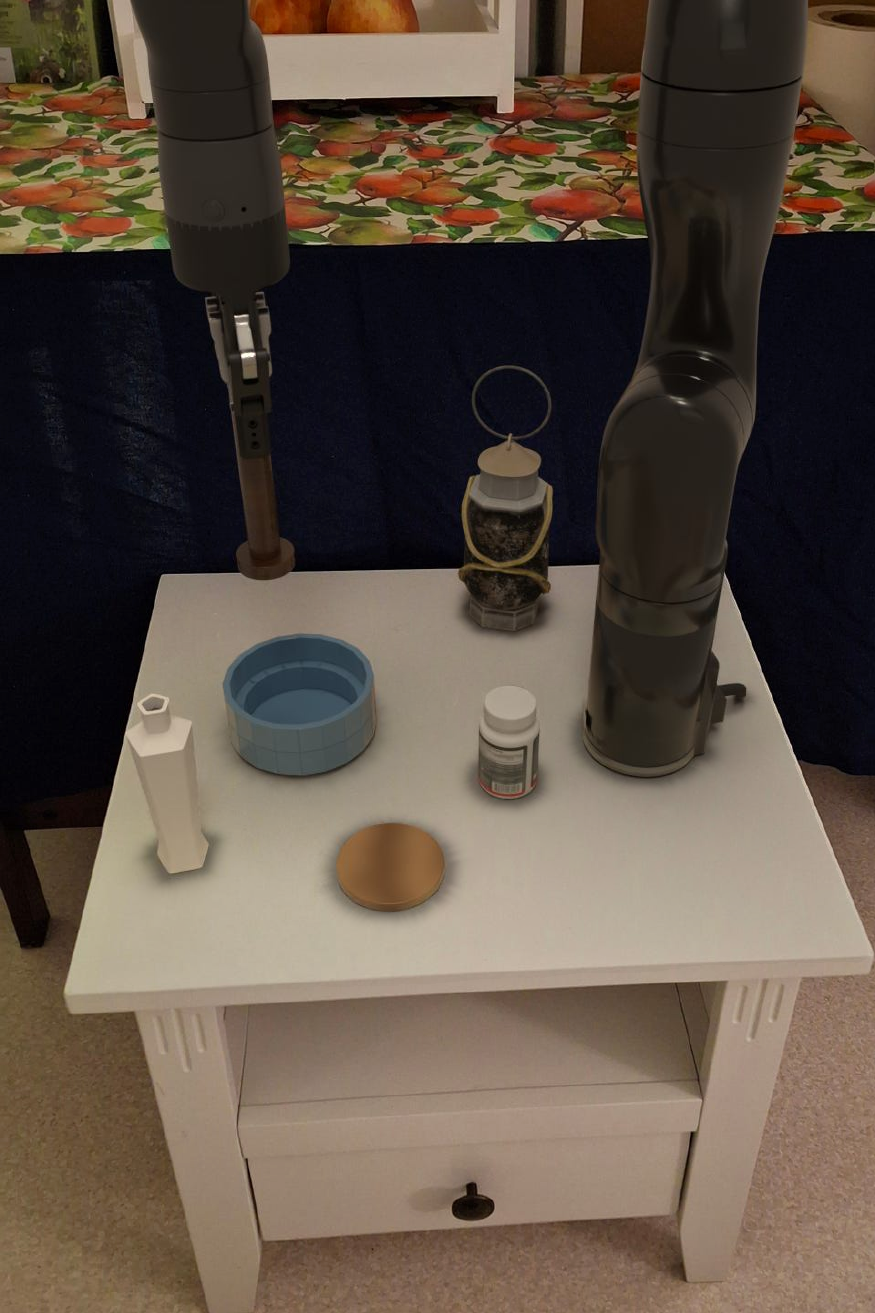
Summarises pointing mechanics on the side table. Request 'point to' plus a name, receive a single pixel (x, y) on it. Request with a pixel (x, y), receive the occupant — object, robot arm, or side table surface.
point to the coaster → (390, 866)
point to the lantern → (506, 531)
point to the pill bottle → (508, 743)
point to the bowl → (300, 703)
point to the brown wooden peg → (261, 521)
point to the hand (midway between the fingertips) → (253, 445)
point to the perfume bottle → (169, 783)
